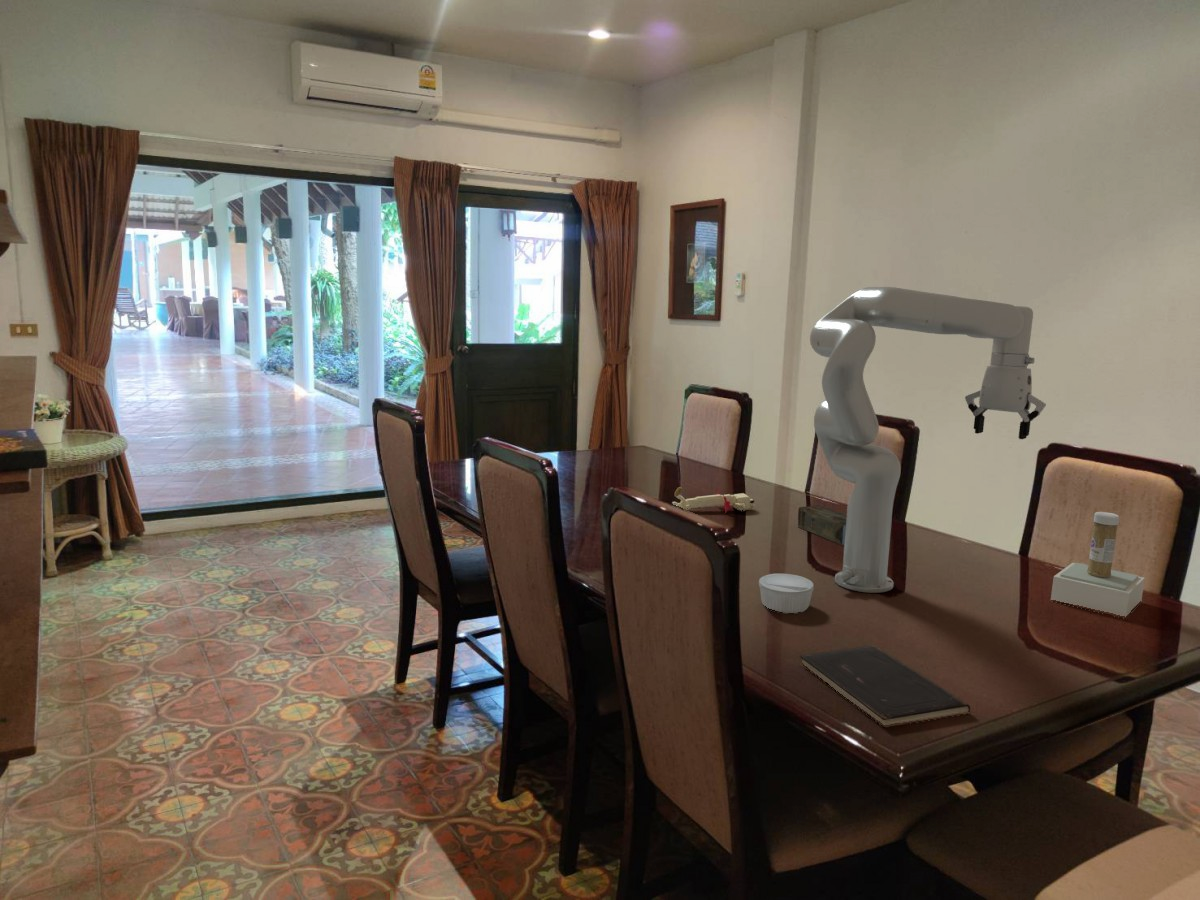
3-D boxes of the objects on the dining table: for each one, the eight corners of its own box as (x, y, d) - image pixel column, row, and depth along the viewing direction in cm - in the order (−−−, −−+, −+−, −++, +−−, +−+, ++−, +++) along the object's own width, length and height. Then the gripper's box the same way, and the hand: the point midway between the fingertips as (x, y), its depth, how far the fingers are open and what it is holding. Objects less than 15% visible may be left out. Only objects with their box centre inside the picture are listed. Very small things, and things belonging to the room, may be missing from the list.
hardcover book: (882, 732, 123) (883, 718, 123) (798, 667, 144) (799, 655, 144) (969, 717, 128) (971, 703, 128) (876, 656, 149) (877, 644, 149)
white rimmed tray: (1125, 618, 169) (1129, 590, 168) (1050, 600, 178) (1053, 574, 177) (1141, 602, 179) (1145, 575, 178) (1069, 585, 188) (1072, 560, 187)
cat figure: (679, 520, 243) (760, 511, 247) (678, 492, 241) (759, 483, 245) (670, 512, 252) (748, 503, 256) (669, 484, 250) (747, 476, 255)
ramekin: (772, 618, 165) (774, 593, 165) (748, 598, 176) (749, 575, 175) (822, 613, 168) (824, 589, 168) (795, 595, 179) (797, 571, 178)
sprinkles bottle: (1081, 571, 179) (1089, 511, 177) (1101, 571, 180) (1109, 511, 178) (1096, 578, 175) (1104, 516, 173) (1116, 578, 175) (1124, 516, 173)
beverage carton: (841, 546, 216) (843, 522, 215) (795, 528, 233) (797, 505, 232) (865, 543, 219) (867, 519, 218) (818, 525, 236) (819, 502, 235)
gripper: (1055, 363, 185) (1046, 439, 188) (976, 358, 197) (968, 429, 200) (1044, 364, 179) (1034, 442, 182) (963, 359, 191) (955, 432, 194)
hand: (1000, 435), depth 191 cm, fingers open, 9 cm apart
